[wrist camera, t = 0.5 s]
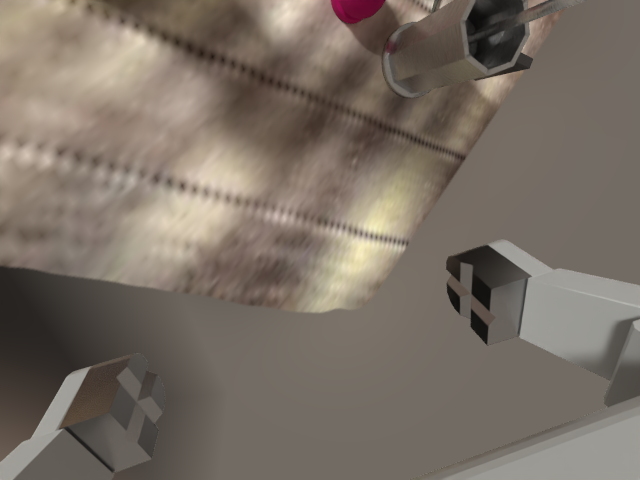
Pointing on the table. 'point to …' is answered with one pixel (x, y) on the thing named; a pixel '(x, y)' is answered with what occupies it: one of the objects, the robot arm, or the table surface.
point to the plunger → (514, 21)
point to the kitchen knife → (434, 6)
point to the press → (454, 47)
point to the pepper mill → (355, 9)
